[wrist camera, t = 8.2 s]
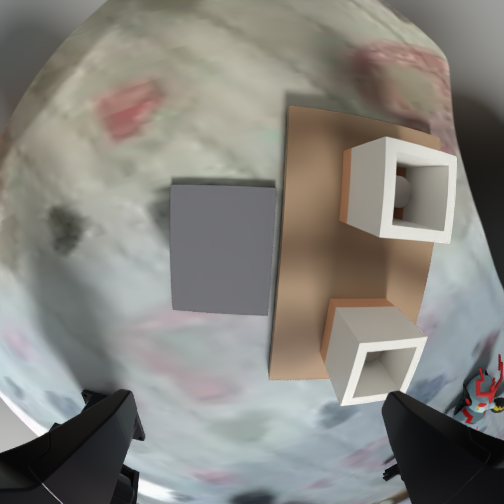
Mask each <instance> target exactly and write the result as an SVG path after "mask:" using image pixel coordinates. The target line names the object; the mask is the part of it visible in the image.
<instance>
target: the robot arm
mask: <svg viewBox="0 0 504 504" xmlns="http://www.w3.org/2000/svg"><path fill="white" fill-rule="evenodd" d="M81 394H82V397H83V399H84V401H85V404H86V405H85V407H84V408H83V410H82V411H81V413H80V414H78V415H77V416H75V417H73V418H72V419H70V420H68V421H66V422H65V423H63V424H58V423H54V424H53V426H52V427H51V429H50V430H49V432H47V433H45V434H44V435H42V436H40V437H38V438H36V439H34V440H32V441H30V442H27V443H25V444H23V445H20V446H18V447H15V448H13V449H10V450H7V451H4V452H2V453H0V504H136V501H137V492H138V481H139V472H138V471H136V470H133V469H131V468H129V467H128V466H126V465H124V464H123V462H124V460H125V457H126V454H127V451H128V448H129V446H130V443H131V441H132V439H136V440H140V441H144V440H145V435H144V432H143V429H142V426H141V423H140V420H139V417H138V414H137V407H136V403H135V399H134V395H133V393H132V391H130V390H126V389H119V390H118V391H116V392H114V393H113V394H111V395H110V396H105V395H101V394H98V393H94V392H91V391H87V390H83V391H82V393H81ZM382 416H383V419H384V423H385V427H386V431H387V434H388V438H389V442H390V445H391V448H392V451H393V453H394V456H395V459H396V461H397V464H398V467H399V469H400V472H401V475H402V477H403V480H404V483H405V486H406V489H407V492H408V495H409V497H410V500H411V503H412V504H504V440H501V439H498V438H495V437H492V436H490V435H487V434H484V433H482V432H480V431H477V430H475V429H473V428H471V427H469V426H468V427H467V425H465V424H463V423H461V422H459V421H457V420H455V419H453V418H451V417H449V416H447V415H445V414H443V413H441V412H439V411H437V410H435V409H433V408H431V407H429V406H427V405H426V404H424V403H422V402H420V401H418V400H416V399H414V398H412V397H411V396H409V395H407V394H405V393H403V392H401V391H399V390H397V391H392V392H389V393H388V395H387V397H386V400H385V402H384V404H383V406H382Z"/></svg>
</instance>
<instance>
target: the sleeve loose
mask: <svg viewBox="0 0 504 504" xmlns="http://www.w3.org/2000/svg"><path fill="white" fill-rule="evenodd" d="M456 168H457V157H456V156H453V155H450V154H447V153H444V152H441V151H438V150H434V149H431V148H428V147H424V146H421V145H417V144H414V143H410V142H406V141H402V140H398V139H394V138H390V137H383V138H380V139H377V140H374V141H371V142H368V143H365V144H362V145H359V146H356V147H353V148H351V149H348V150H345V151H344V152H343V174H342V191H341V204H340V216H339V221H341V222H344V223H346V224H349V225H351V226H354V227H356V228H358V229H361V230H363V231H366V232H368V233H370V234H373V235H375V236H377V237H381V238H393V239H405V240H416V241H427V242H437V243H448V244H450V240H451V233H452V225H453V216H454V206H455V193H456ZM396 176H402V177H404V178H405V179H406V180H407V181H408V182H409V184H410V186H411V191H412V195H411V199H410V201H409V203H408V204H407V205H406V206H404V207H402V208H396V207H394V198H395V184H396Z"/></svg>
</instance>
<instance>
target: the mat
mask: <svg viewBox="0 0 504 504" xmlns="http://www.w3.org/2000/svg"><path fill="white" fill-rule="evenodd" d="M275 205H276V188H267V187H248V186H222V185H171V195H170V260H171V288H172V306H173V310H181V311H193V312H206V313H221V314H240V315H263V316H268V305H269V292H270V279H271V266H272V252H273V237H274V221H275Z"/></svg>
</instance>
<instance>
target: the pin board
mask: <svg viewBox="0 0 504 504" xmlns="http://www.w3.org/2000/svg"><path fill="white" fill-rule="evenodd" d="M383 137H390V138H394V139H398V140H402V141H406V142H410V143H414V144H417V145H421V146H424V147H428V148H431V149H434V150H438V151H440V138H439V137H436V136H433V135H430V134H427V133H424V132H420V131H417V130H414V129H410V128H407V127H403V126H400V125H396V124H392V123H388V122H384V121H380V120H376V119H371V118H367V117H362V116H357V115H352V114H346V113H341V112H335V111H329V110H322V109H315V108H307V107H299V106H290V105H289V107H288V109H287V124H286V148H285V168H284V186H283V203H282V219H281V234H280V248H279V261H278V274H277V286H276V297H275V309H274V320H273V330H272V340H271V350H270V360H269V369H268V373H269V380H311V379H330V377H329V375H328V372H327V370H326V367H325V364H324V362H323V359H322V357H321V354H320V351H321V346H322V341H323V335H324V330H325V325H326V319H327V313H328V307H329V301H330V299H375V298H386V299H387V300H389V301H390V302H391V303H392V304H393V305H394V306H395V307H396V308H397V309H398V310H400V311H401V312H402V313H403V314H404V315H405V316H406V317H407V318H408V319H409V320H410V321H412V322H413V323H414V324H415V325H416V321H417V318H418V314H419V310H420V307H421V303H422V299H423V295H424V290H425V286H426V282H427V277H428V272H429V267H430V262H431V256H432V250H433V244H434V242H427V241H416V240H405V239H393V238H381V237H377V236H375V235H373V234H370V233H368V232H366V231H363V230H361V229H358V228H356V227H354V226H351V225H349V224H346V223H344V222H341V221H339V216H340V204H341V191H342V174H343V152H344V151H345V150H348V149H351V148H353V147H356V146H359V145H362V144H365V143H368V142H371V141H374V140H377V139H380V138H383ZM411 195H412V191H411V186H410V184H409V182H408V181H407V180H406V179H405V178H404V177H402V176H396V184H395V198H394V207H396V208H402V207H404V206H406V205H407V204H408V203H409V201H410V199H411ZM381 352H382V351H374V352H367V354H366V358H365V361H364V362H371V361H373V360H375V359H376V358H378V356H379V355H380V354H381Z"/></svg>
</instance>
